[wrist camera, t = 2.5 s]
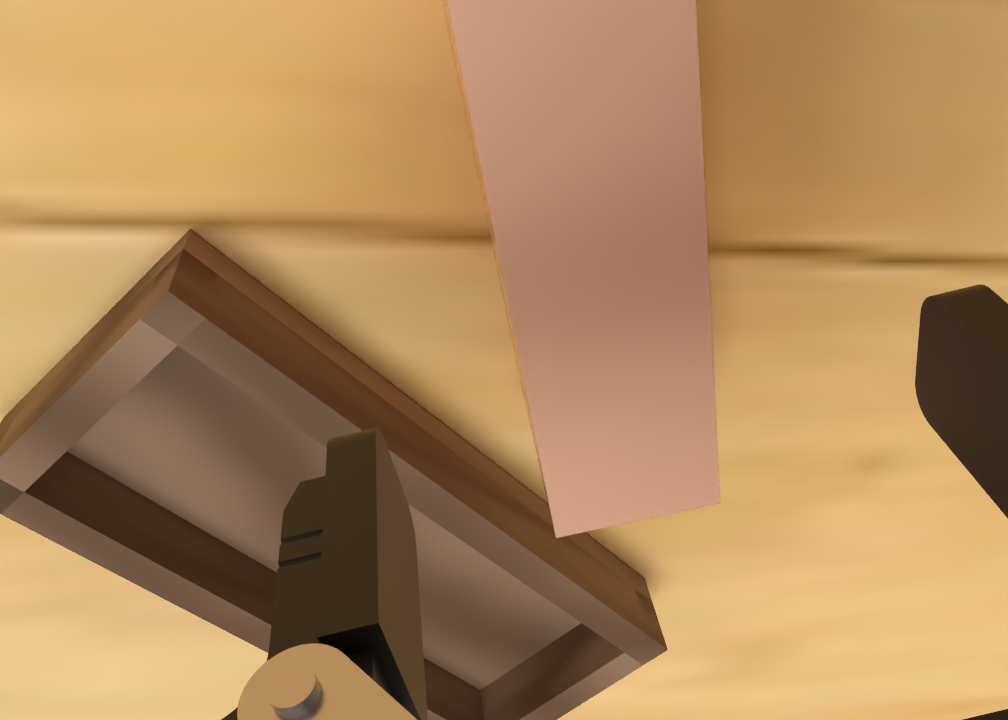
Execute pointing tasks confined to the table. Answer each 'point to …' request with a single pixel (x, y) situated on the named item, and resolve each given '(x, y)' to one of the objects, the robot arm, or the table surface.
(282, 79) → the table surface
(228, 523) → the tray
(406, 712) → the robot arm
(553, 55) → the clay strip
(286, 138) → the table surface
